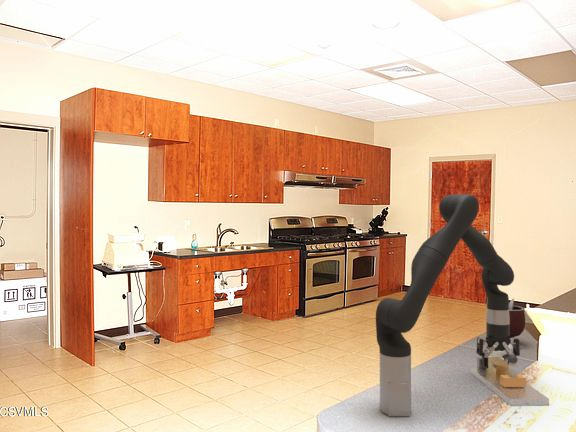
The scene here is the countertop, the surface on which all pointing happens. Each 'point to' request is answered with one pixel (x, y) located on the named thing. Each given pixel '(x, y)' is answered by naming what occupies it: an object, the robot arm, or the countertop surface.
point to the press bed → (509, 389)
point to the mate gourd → (516, 321)
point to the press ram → (512, 375)
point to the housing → (497, 368)
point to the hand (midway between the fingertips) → (498, 367)
